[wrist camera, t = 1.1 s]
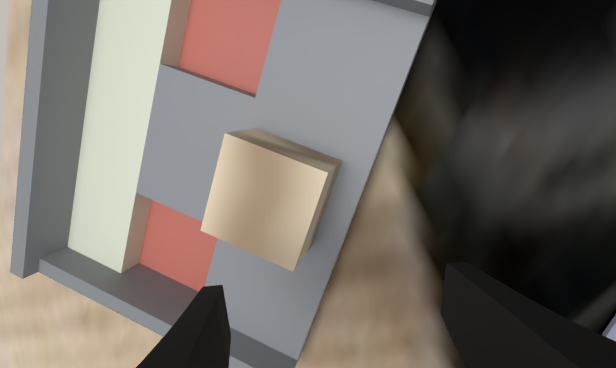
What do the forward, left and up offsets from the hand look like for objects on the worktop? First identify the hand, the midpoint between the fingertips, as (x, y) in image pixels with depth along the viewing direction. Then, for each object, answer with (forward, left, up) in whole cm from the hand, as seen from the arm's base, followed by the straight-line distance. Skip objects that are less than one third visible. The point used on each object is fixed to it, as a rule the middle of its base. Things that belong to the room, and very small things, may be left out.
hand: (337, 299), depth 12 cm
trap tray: (+10, 0, -10) cm, 14 cm away
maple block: (+5, 0, -8) cm, 9 cm away
